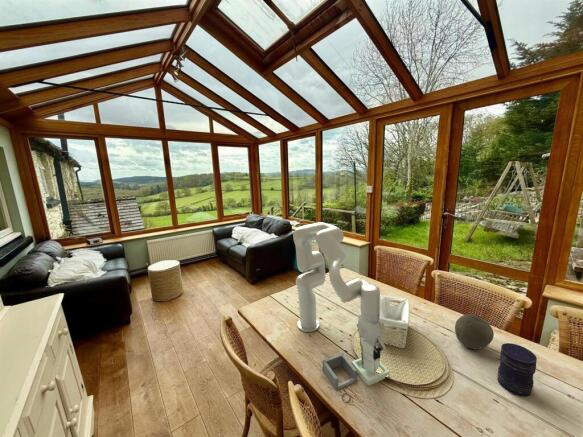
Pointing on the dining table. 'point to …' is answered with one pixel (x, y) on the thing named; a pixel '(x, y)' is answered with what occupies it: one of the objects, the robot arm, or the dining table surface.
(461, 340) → the grey oval rock
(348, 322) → the dining table surface
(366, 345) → the syrup box
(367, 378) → the tray
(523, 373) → the storage jar
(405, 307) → the storage basket
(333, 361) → the bay
